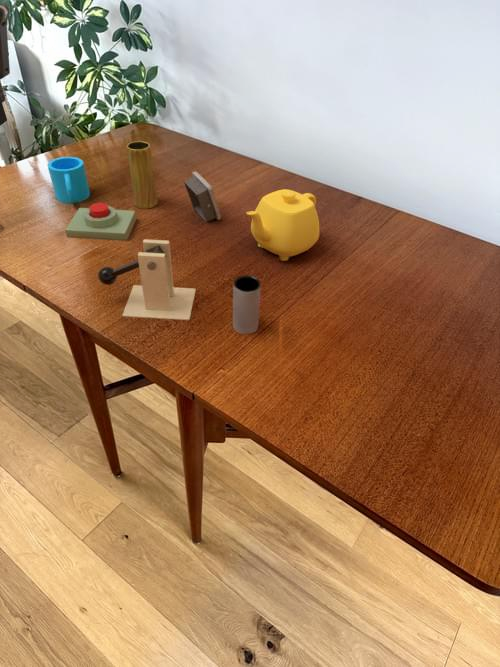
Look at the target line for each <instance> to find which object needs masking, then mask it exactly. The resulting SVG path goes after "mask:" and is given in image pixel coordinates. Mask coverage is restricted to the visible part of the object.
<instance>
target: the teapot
mask: <svg viewBox="0 0 500 667" xmlns="http://www.w3.org/2000/svg"><path fill="white" fill-rule="evenodd" d="M316 204H317V197H316V196H315V194H313V193H310V192H306V193H303V194H302V193H300V192H297V191H295V190H292V189H287V188H285V189H284V188H282V189H279V190H276V191H273V192H270V193H267V194H266V195H264V196H263V197H261V199H260V200H259V203H258V204H257V206H256V208H255V210H249V211H246V213H245V214H246V215H247V216H250V217H251V224H250V232H251V234H252V236H253V238H254V240H255V241H256V242H257V246H258V248H261V249H264V250H266V251H268V252H270V253H272V254H274V255H276V256H277V255H278V260H279V261H280V262H281V261H282V262H285V261H288V260H289V259H290V257H293V256H294V257H295V256H297V255H299V254H302V253H304V252H306V251H308V250H309V249H310V248H312V247H313V246H314V245H315V244H316V243H317V242H318V241H319V238H320V219H319V215H318V212H317V209H316V206H317V205H316Z"/></svg>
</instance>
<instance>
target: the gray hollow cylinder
mask: <svg viewBox="0 0 500 667" xmlns="http://www.w3.org/2000/svg"><path fill="white" fill-rule="evenodd" d="M232 284H233V285H232V328H233V330H234V331H235V332H237V333H238V334H241V335H251V334H254V333H255V332H257V331H258V329H259V323H260V322H259V320H260V309H261V308H260V307H261V306H260V305H261V293H262V292H261V291H262V282H261V280H260V279H259V278H258V277H256V276H255V275H249V274H247V275H245V274H243V275H240V276H237V277H236V278H235V279H234V280H233V283H232Z"/></svg>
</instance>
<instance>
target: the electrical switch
mask: <svg viewBox="0 0 500 667" xmlns="http://www.w3.org/2000/svg"><path fill="white" fill-rule="evenodd" d="M183 183H184V186H185V188H186V192H187V194H188V197H189V200H190V202H191V205H192V208H194V210H195V211H196V212H197V214H198V215H199V216H200V217H201V218H202V219H203V220H204V221H205V223H208V222H210V221H212V220H214V219H216V220H217V221H221V220H222V215H221V212H220V211H221V210H220V208H219V205H218V201H217V198H216V194H215V192H214V190H213V187H212V185H211V184H210V183H209V182H207V180H206V179H205V178H204V177H203V176H202V175H201V174H199V173H198V172H197V170H196V171H192V176H190V177H189V178H187V179H186V180H183Z"/></svg>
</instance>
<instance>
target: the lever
mask: <svg viewBox="0 0 500 667" xmlns="http://www.w3.org/2000/svg"><path fill="white" fill-rule="evenodd" d="M145 253H163V254H165V253H164V251H163V250H162V249H161V247H160V246H159V245H158V246H156V247H153V248H151V249H148V250H146V251H145ZM165 256H166V254H165ZM136 269H140V268H139V262H138V259H136V260H133V261H130V262H128V263H126V264H123V265H120V266H119V267H116V268H113V267H111V266H104V267H101V268H100V269H99V270H98V273H97V278H98V280H99V282H100V283H101V284H103V285H105V286H110V285H113V284H114V283H115V282H116V281H117V278H118V277H119V276H121V275H123V274H126V273H129V272H131V271H134V270H136Z"/></svg>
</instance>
